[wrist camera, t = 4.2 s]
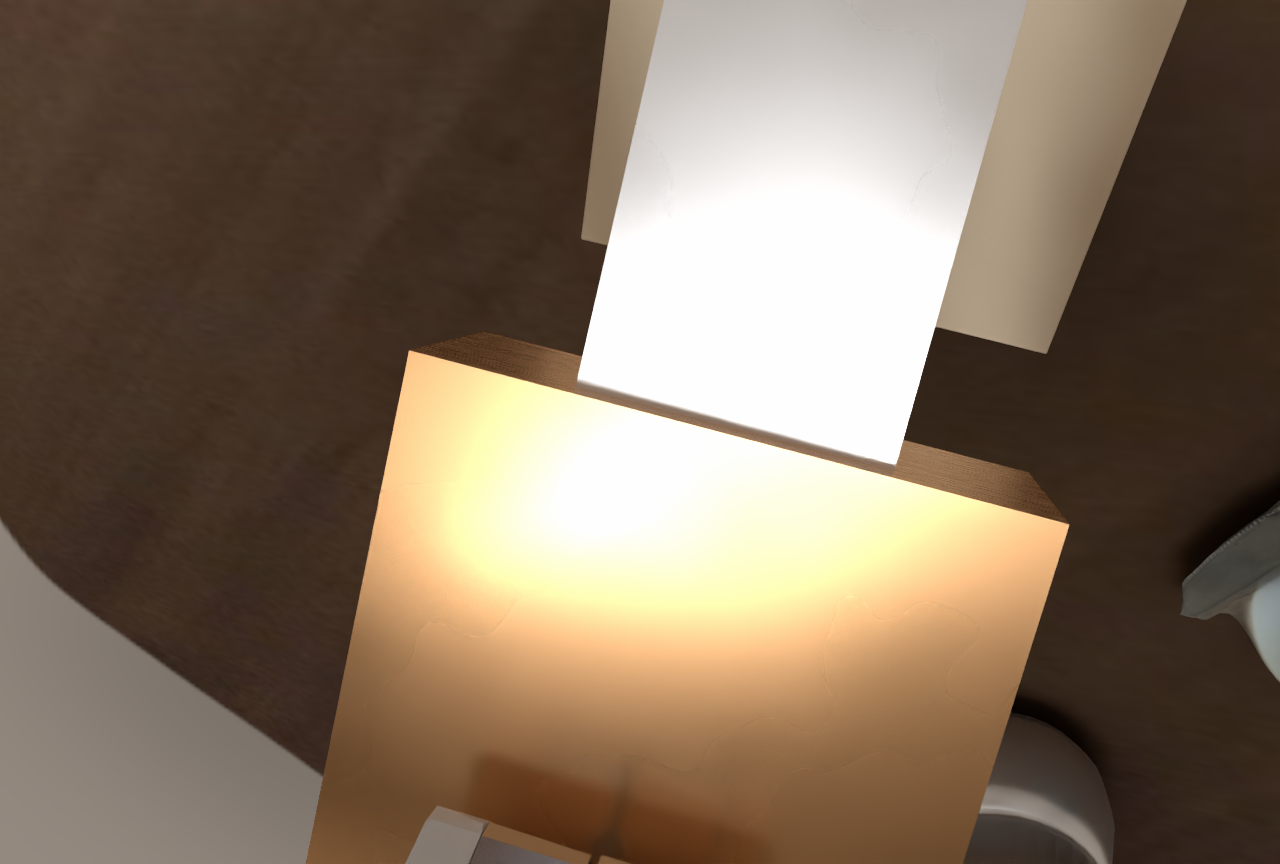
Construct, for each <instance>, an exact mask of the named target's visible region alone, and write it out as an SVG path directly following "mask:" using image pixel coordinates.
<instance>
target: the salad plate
mask: <svg viewBox="0 0 1280 864" xmlns="http://www.w3.org/2000/svg"><path fill="white" fill-rule="evenodd" d="M1182 590H1183V593H1182V596H1183V602H1182V605H1181V613H1180V614H1181V615H1184V616H1187V617H1196V618H1199V619H1201V620H1207V619H1209V618H1210V617H1213V616H1215V615H1217V614H1219V613H1228V614H1230V615H1231V616H1233V617H1234V618H1235V619H1236V620H1237V621H1238V622H1239V624H1240V625H1241V626H1242V628H1243V629H1244V630H1245V632H1246V633H1247V635H1248V636H1249V638H1250V641H1251V643H1252V644H1253V646H1254V647H1255V649H1256V651H1257V652H1258V654H1259V656H1260V657H1261V659H1262V660H1263V662H1264V664H1265V665H1266V667H1267V668H1268V669H1269V670H1270V672H1271V673H1272V674H1273V675H1274V676H1275V678H1276V679H1277V680H1278V681H1279V682H1280V500H1279V501H1278V502H1277V503H1276V504H1275V505H1274V506H1273V507H1272V508H1270V509H1269V510H1268V511H1266V512H1265V513H1264V514H1262V515H1261V516H1259V517H1258V518H1256V519H1255V520H1253V521H1252V522H1250V523H1249V524H1247V525H1246V526H1245V527H1243V528H1242V529H1240V530H1239V531H1238V532H1236V533H1235V534H1234V535H1233V536H1231V537H1230V538H1229V539H1228V540H1226V541H1225V542H1224V543H1223V544H1221V545H1220V547H1219V548H1217V549H1216V550H1215V551H1214V552H1213V553H1212V554H1211V555H1209V556H1208V557H1207V558H1206V559H1205V560H1204V561H1203V562H1202V563H1201V564H1200V565H1199V566H1198V567H1197V568H1196V569H1195V570H1194V571H1193V572H1192V573H1191V574H1190V575H1189V576H1187V577H1186V578H1185V580H1184V581H1183V583H1182Z"/></svg>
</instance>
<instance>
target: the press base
mask: <svg viewBox="0 0 1280 864" xmlns="http://www.w3.org/2000/svg"><path fill="white" fill-rule="evenodd" d="M1186 1H1187V0H1027V3H1026V7H1025V10H1024V14H1023V17H1022V21H1021V25H1020V28H1019V32H1018V35H1017V39H1016V42H1015V46H1014V49H1013V53H1012V56H1011V60H1010V63H1009V67H1008V70H1007V74H1006V77H1005V81H1004V85H1003V88H1002V92H1001V95H1000V99H999V102H998V106H997V109H996V113H995V116H994V120H993V123H992V127H991V130H990V134H989V137H988V141H987V145H986V148H985V152H984V155H983V159H982V162H981V166H980V169H979V173H978V176H977V180H976V183H975V187H974V190H973V194H972V197H971V201H970V205H969V208H968V212H967V215H966V219H965V222H964V226H963V229H962V233H961V236H960V240H959V243H958V247H957V250H956V254H955V257H954V261H953V265H952V268H951V272H950V275H949V279H948V282H947V286H946V289H945V293H944V296H943V300H942V303H941V307H940V310H939V314H938V317H937V321H936V325H935V327H939V328H944V329H948V330H952V331H956V332H960V333H964V334H968V335H972V336H976V337H980V338H984V339H988V340H992V341H996V342H1000V343H1004V344H1008V345H1012V346H1016V347H1020V348H1024V349H1028V350H1032V351H1037V352H1041V353H1045V354H1047V351H1048V349H1049V346H1050V343H1051V341H1052V338H1053V336H1054V333H1055V331H1056V328H1057V326H1058V323H1059V321H1060V318H1061V316H1062V313H1063V311H1064V308H1065V306H1066V303H1067V301H1068V298H1069V296H1070V293H1071V291H1072V288H1073V286H1074V283H1075V281H1076V278H1077V276H1078V273H1079V270H1080V268H1081V265H1082V263H1083V260H1084V258H1085V255H1086V253H1087V250H1088V248H1089V245H1090V243H1091V240H1092V238H1093V235H1094V233H1095V230H1096V228H1097V225H1098V223H1099V220H1100V218H1101V215H1102V213H1103V210H1104V208H1105V205H1106V203H1107V200H1108V197H1109V195H1110V192H1111V190H1112V187H1113V185H1114V182H1115V180H1116V177H1117V175H1118V172H1119V170H1120V167H1121V165H1122V162H1123V160H1124V157H1125V155H1126V152H1127V150H1128V147H1129V145H1130V142H1131V140H1132V137H1133V135H1134V132H1135V130H1136V127H1137V124H1138V122H1139V119H1140V117H1141V114H1142V112H1143V109H1144V107H1145V104H1146V102H1147V99H1148V97H1149V94H1150V92H1151V89H1152V87H1153V84H1154V82H1155V79H1156V77H1157V74H1158V72H1159V69H1160V67H1161V64H1162V62H1163V59H1164V57H1165V54H1166V51H1167V49H1168V46H1169V44H1170V41H1171V39H1172V36H1173V34H1174V31H1175V29H1176V26H1177V24H1178V21H1179V19H1180V16H1181V14H1182V11H1183V9H1184V6H1185V4H1186ZM663 3H664V0H611V2H610V10H609V18H608V26H607V34H606V42H605V50H604V59H603V67H602V75H601V83H600V91H599V99H598V107H597V115H596V123H595V131H594V139H593V147H592V155H591V163H590V172H589V180H588V188H587V196H586V204H585V212H584V220H583V228H582V236H581V239H584V240H588V241H592V242H596V243H600V244H604V245H608V243H609V239H610V235H611V230H612V226H613V221H614V217H615V213H616V208H617V204H618V200H619V195H620V191H621V187H622V182H623V178H624V173H625V169H626V165H627V160H628V156H629V152H630V147H631V143H632V138H633V134H634V130H635V125H636V121H637V117H638V112H639V108H640V104H641V99H642V95H643V90H644V86H645V82H646V77H647V73H648V69H649V64H650V60H651V56H652V51H653V47H654V42H655V38H656V34H657V29H658V25H659V21H660V16H661V12H662V7H663Z"/></svg>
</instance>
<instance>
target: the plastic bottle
mask: <svg viewBox="0 0 1280 864" xmlns="http://www.w3.org/2000/svg"><path fill="white" fill-rule="evenodd" d="M1114 833H1115V825H1114V820H1113V814H1112V810H1111V807H1110V804H1109V800H1108V797H1107V793H1106V790H1105V787H1104V783H1103V780H1102V778H1101V776H1100V774H1099V771H1098V769H1097V767H1096V766H1095V764H1094V763H1093V762H1092V761H1091V759H1090V758H1089V757H1088V756H1087V754H1086V753H1085V752H1084V751H1083V750H1082V749H1081V748H1080V747H1078V746H1077V745H1076V744H1075V743H1074V742H1073V741H1072V740H1071V739H1070V738H1068V737H1067V736H1066V735H1065V734H1064V733H1063V732H1061V731H1060V730H1058V729H1056V728H1055V727H1053V726H1051V725H1050V724H1048V723H1046V722H1043V721H1041V720H1038V719H1036V718H1033V717H1030V716H1026V715H1022V714H1018V713H1013V712H1010V715H1009V719H1008V722H1007V725H1006V728H1005V731H1004V735H1003V738H1002V741H1001V744H1000V747H999V750H998V754H997V757H996V760H995V763H994V766H993V770H992V773H991V776H990V779H989V782H988V785H987V789H986V792H985V795H984V798H983V801H982V805H981V808H980V811H979V814H978V817H977V820H976V824H975V827H974V830H973V833H972V836H971V840H970V843H969V846H968V849H967V852H966V855H965V859H964V862H963V864H1112V859H1113V846H1114Z"/></svg>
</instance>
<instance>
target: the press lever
mask: <svg viewBox="0 0 1280 864" xmlns="http://www.w3.org/2000/svg"><path fill="white" fill-rule="evenodd" d="M1026 3H1027V0H664V3H663V7H662V12H661V16H660V21H659V25H658V29H657V34H656V38H655V42H654V47H653V51H652V56H651V60H650V64H649V69H648V73H647V77H646V82H645V86H644V90H643V95H642V99H641V104H640V108H639V112H638V117H637V121H636V125H635V130H634V134H633V138H632V143H631V147H630V152H629V156H628V160H627V165H626V169H625V173H624V178H623V182H622V187H621V191H620V195H619V200H618V204H617V208H616V213H615V217H614V221H613V226H612V230H611V235H610V239H609V243H608V248H607V252H606V256H605V261H604V265H603V269H602V274H601V278H600V283H599V287H598V291H597V296H596V300H595V304H594V309H593V313H592V318H591V322H590V326H589V331H588V335H587V339H586V344H585V348H584V352H583V357H581V356H578V355H574V354H570V353H566V352H562V351H558V350H554V349H551V348H547V347H543V346H539V345H535V344H531V343H528V342H524V341H520V340H516V339H512V338H508V337H504V336H501V335H497V334H493V333H489V332H481V333H477V334H473V335H469V336H465V337H461V338H457V339H453V340H449V341H445V342H441V343H437V344H433V345H429V346H425V347H421V348H417V349H413V350H409V354H408V359H407V364H406V369H405V374H404V379H403V384H402V389H401V394H400V399H399V404H398V409H397V414H396V419H395V423H394V428H393V433H392V438H391V443H390V448H389V453H388V458H387V463H386V468H385V473H384V478H383V483H382V488H381V493H380V498H379V503H378V508H377V513H376V518H375V523H374V528H373V533H372V538H371V543H370V548H369V553H368V558H367V563H366V567H365V572H364V577H363V582H362V587H361V592H360V597H359V602H358V607H357V612H356V617H355V622H354V627H353V632H352V637H351V642H350V647H349V652H348V657H347V662H346V667H345V672H344V677H343V682H342V687H341V692H340V697H339V702H338V706H337V711H336V716H335V721H334V726H333V731H332V736H331V741H330V746H329V751H328V756H327V761H326V766H325V771H324V776H323V781H322V787H321V791H320V796H319V801H318V806H317V811H316V816H315V821H314V826H313V831H312V836H311V841H310V846H309V850H308V856H307V860H306V864H405V863H406V861H407V859H408V857H409V855H410V853H411V851H412V849H413V847H414V844H415V842H416V840H417V838H418V836H419V834H420V832H421V830H422V827H423V825H424V823H425V821H426V820H427V819H428V817H429V816H430V815H431V813H432V812H433V811H434V809H435V808H436V807H437V806H441V807H444V808H447V809H451V810H454V811H457V812H461V813H464V814H468V815H471V816H474V817H478V818H481V819H484V820H488V821H490V822H492V823H495V824H498V825H501V826H505V827H508V828H511V829H514V830H517V831H521V832H524V833H527V834H530V835H533V836H537V837H540V838H543V839H546V840H549V841H553V842H556V843H559V844H562V845H565V846H569V847H572V848H575V849H578V850H581V851H585V852H588V853H591V854H593V858H592V864H598V862H599V860H600V858H601V855H603V856H606V857H610V858H613V859H617V860H621V861H624V862H628V863H631V864H963V862H964V859H965V855H966V852H967V849H968V846H969V843H970V840H971V836H972V833H973V830H974V827H975V824H976V820H977V817H978V814H979V811H980V808H981V805H982V801H983V798H984V795H985V792H986V789H987V785H988V782H989V779H990V776H991V773H992V770H993V766H994V763H995V760H996V757H997V754H998V750H999V747H1000V744H1001V741H1002V738H1003V735H1004V731H1005V728H1006V725H1007V722H1008V719H1009V715H1010V712H1011V709H1012V706H1013V703H1014V700H1015V696H1016V693H1017V690H1018V687H1019V684H1020V680H1021V677H1022V674H1023V671H1024V668H1025V665H1026V661H1027V658H1028V655H1029V652H1030V649H1031V645H1032V642H1033V639H1034V636H1035V633H1036V630H1037V626H1038V623H1039V620H1040V617H1041V614H1042V610H1043V607H1044V604H1045V601H1046V598H1047V595H1048V591H1049V588H1050V585H1051V582H1052V579H1053V575H1054V572H1055V569H1056V566H1057V563H1058V560H1059V556H1060V553H1061V550H1062V547H1063V544H1064V540H1065V537H1066V534H1067V531H1068V528H1069V525H1070V524H1069V523H1068V522H1067V521H1066V519H1065V518H1064V517H1063V516H1062V514H1061V513H1060V512H1059V510H1058V509H1057V508H1056V507H1055V505H1054V504H1053V503H1052V502H1051V500H1050V499H1049V498H1048V497H1047V495H1046V494H1045V493H1044V491H1043V490H1042V489H1041V488H1040V486H1039V485H1038V484H1037V483H1036V481H1035V480H1034V479H1033V478H1032V476H1031V475H1030V474H1029V473H1028V472H1025V471H1021V470H1017V469H1013V468H1009V467H1005V466H1001V465H998V464H994V463H990V462H986V461H982V460H978V459H974V458H971V457H967V456H963V455H959V454H955V453H951V452H948V451H944V450H940V449H936V448H932V447H928V446H924V445H921V444H917V443H913V442H909V441H905V440H903V437H904V434H905V430H906V427H907V423H908V420H909V416H910V413H911V409H912V406H913V402H914V399H915V395H916V392H917V388H918V384H919V381H920V377H921V374H922V370H923V367H924V363H925V360H926V356H927V353H928V349H929V346H930V342H931V339H932V335H933V332H934V328H935V325H936V321H937V317H938V314H939V310H940V307H941V303H942V300H943V296H944V293H945V289H946V286H947V282H948V279H949V275H950V272H951V268H952V265H953V261H954V257H955V254H956V250H957V247H958V243H959V240H960V236H961V233H962V229H963V226H964V222H965V219H966V215H967V212H968V208H969V205H970V201H971V197H972V194H973V190H974V187H975V183H976V180H977V176H978V173H979V169H980V166H981V162H982V159H983V155H984V152H985V148H986V145H987V141H988V137H989V134H990V130H991V127H992V123H993V120H994V116H995V113H996V109H997V106H998V102H999V99H1000V95H1001V92H1002V88H1003V85H1004V81H1005V77H1006V74H1007V70H1008V67H1009V63H1010V60H1011V56H1012V53H1013V49H1014V46H1015V42H1016V39H1017V35H1018V32H1019V28H1020V25H1021V21H1022V17H1023V14H1024V10H1025V7H1026Z"/></svg>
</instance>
